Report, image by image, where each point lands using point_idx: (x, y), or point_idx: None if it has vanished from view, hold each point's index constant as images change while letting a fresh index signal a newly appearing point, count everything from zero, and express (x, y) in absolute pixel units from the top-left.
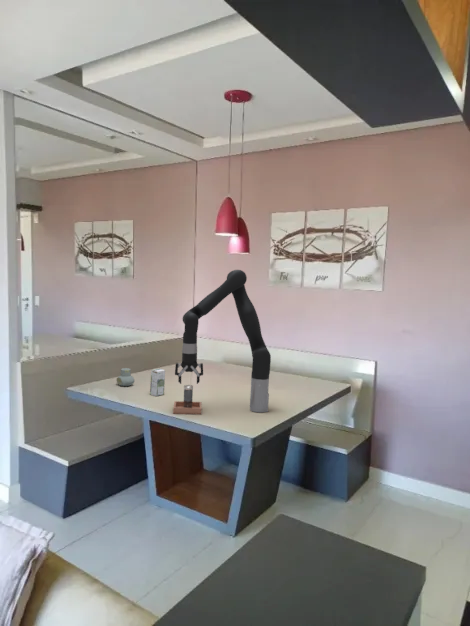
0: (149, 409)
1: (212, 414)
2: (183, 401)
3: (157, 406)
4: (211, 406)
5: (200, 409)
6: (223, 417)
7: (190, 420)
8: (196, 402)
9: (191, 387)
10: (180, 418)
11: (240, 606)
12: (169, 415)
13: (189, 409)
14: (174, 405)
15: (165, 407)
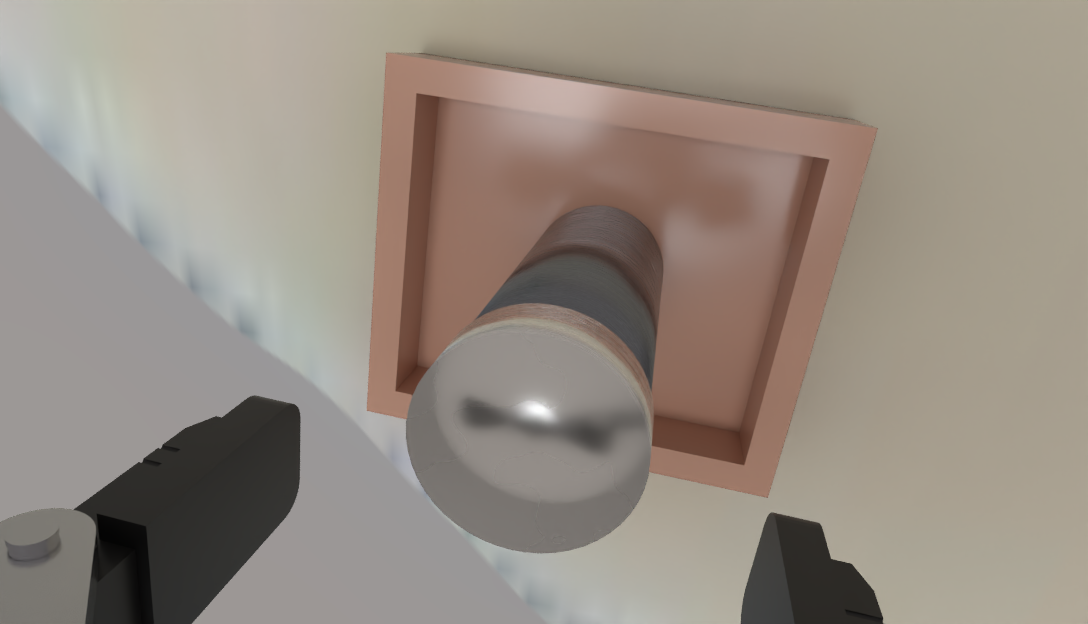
0: (102, 158)
1: (921, 468)
2: (539, 76)
3: (180, 13)
4: (1071, 59)
5: (750, 487)
6: (1030, 599)
7: (580, 616)
8: (771, 147)
9: (594, 534)
10: (477, 540)
11: None
12: (357, 424)
13: None
14: (383, 300)
15: (294, 75)
